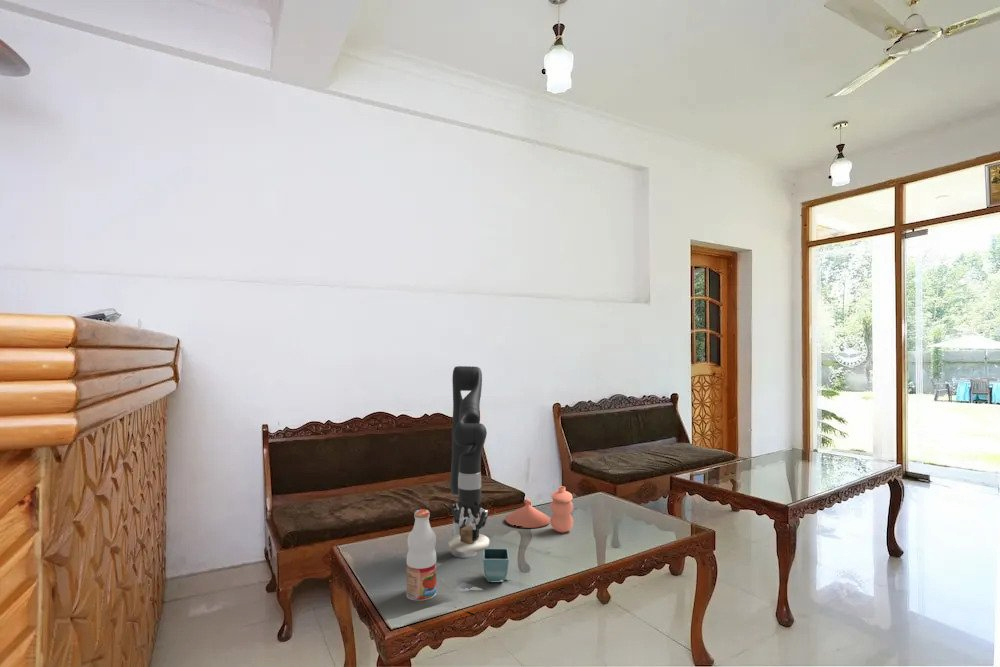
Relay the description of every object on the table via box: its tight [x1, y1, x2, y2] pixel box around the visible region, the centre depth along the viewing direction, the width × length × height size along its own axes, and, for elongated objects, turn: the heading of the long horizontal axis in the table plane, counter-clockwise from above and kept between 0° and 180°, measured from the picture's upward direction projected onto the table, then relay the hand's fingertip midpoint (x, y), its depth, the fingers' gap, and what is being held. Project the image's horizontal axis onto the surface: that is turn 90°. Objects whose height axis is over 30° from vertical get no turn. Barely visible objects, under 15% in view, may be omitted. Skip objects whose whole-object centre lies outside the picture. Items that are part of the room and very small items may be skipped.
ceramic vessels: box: [504, 485, 574, 533], centre depth 224 cm, size 35×21×19 cm, turn 47°
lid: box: [448, 525, 490, 553], centre depth 158 cm, size 13×13×5 cm
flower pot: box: [482, 548, 510, 583], centre depth 170 cm, size 9×9×9 cm
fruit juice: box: [405, 509, 437, 601], centre depth 157 cm, size 9×9×28 cm
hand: (469, 538), depth 158 cm, fingers closed on lid, 4 cm apart
